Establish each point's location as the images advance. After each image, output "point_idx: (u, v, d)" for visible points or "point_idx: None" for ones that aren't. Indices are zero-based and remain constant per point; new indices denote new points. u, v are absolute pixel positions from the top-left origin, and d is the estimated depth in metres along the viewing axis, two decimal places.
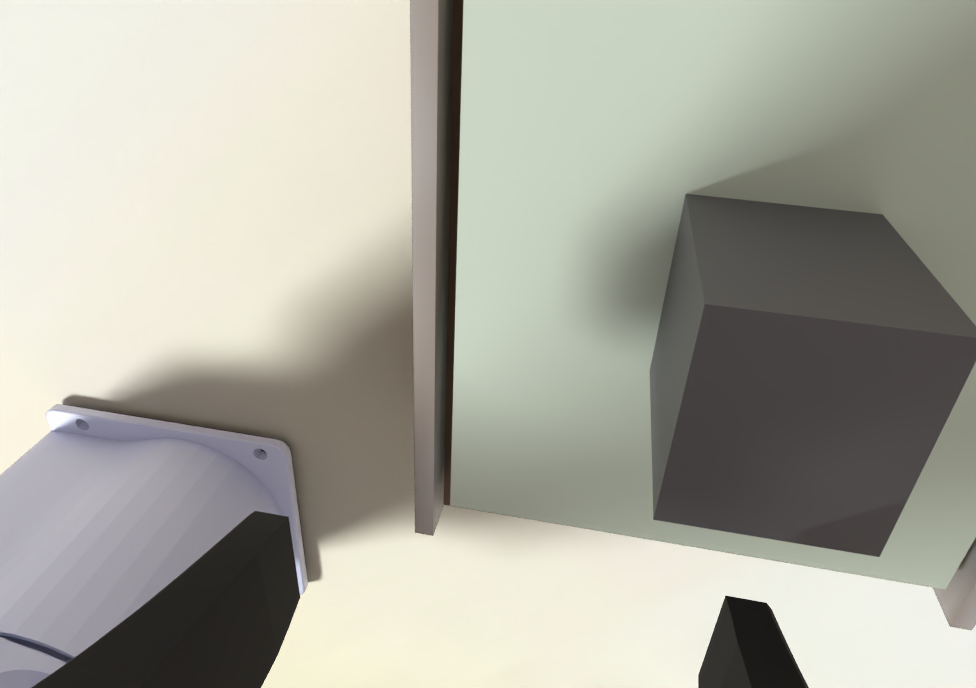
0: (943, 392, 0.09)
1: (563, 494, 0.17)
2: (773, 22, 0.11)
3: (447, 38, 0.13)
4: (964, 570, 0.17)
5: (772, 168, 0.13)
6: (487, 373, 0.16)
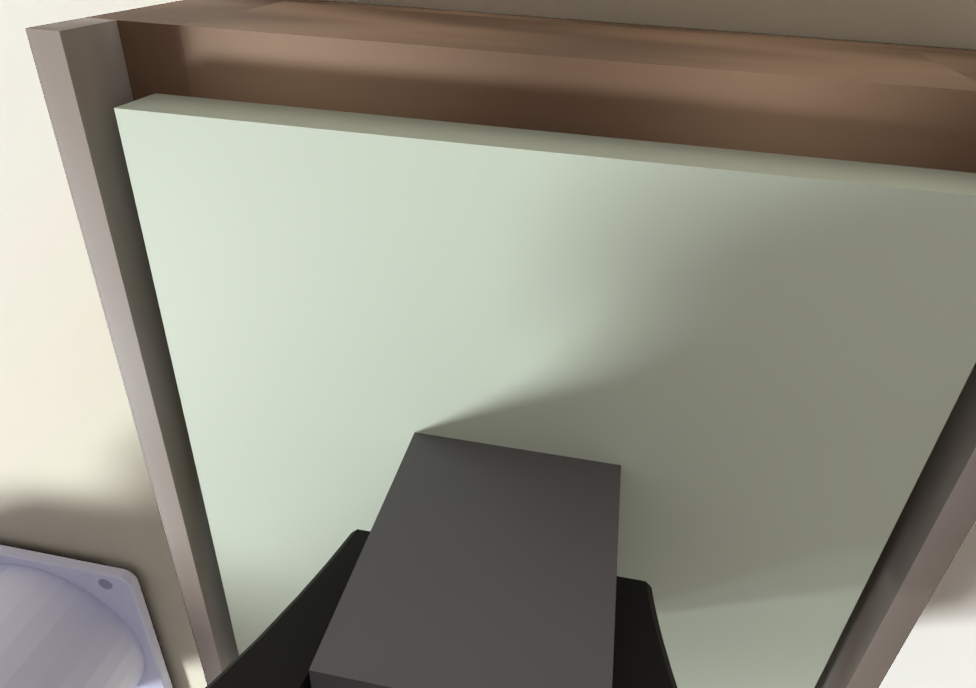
0: None
1: None
2: (468, 280, 0.10)
3: (148, 264, 0.12)
4: None
5: (497, 415, 0.11)
6: (254, 578, 0.15)
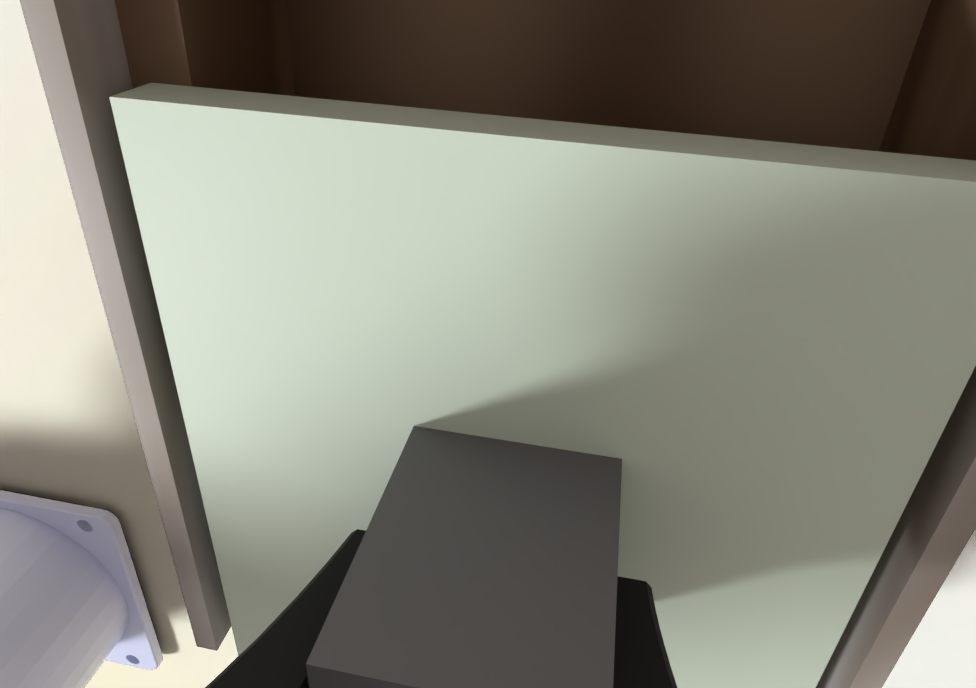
0: None
1: None
2: (467, 271, 0.10)
3: (111, 93, 0.10)
4: None
5: (497, 407, 0.11)
6: (253, 573, 0.15)
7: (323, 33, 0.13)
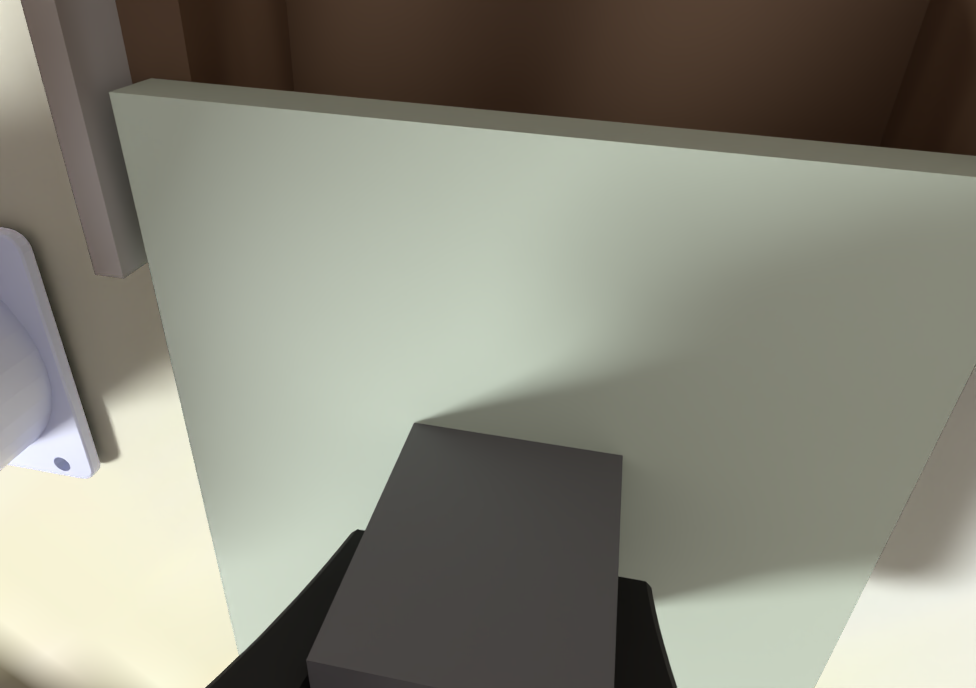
0: None
1: None
2: (467, 267, 0.10)
3: None
4: None
5: (498, 404, 0.11)
6: (253, 571, 0.15)
7: None
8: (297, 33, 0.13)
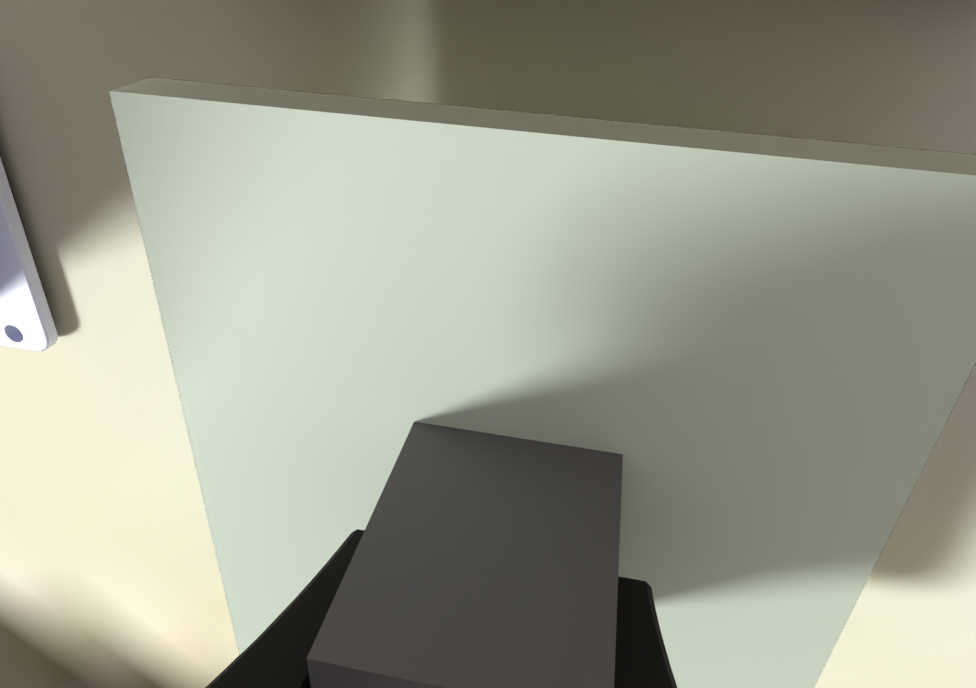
0: None
1: None
2: (467, 266, 0.10)
3: None
4: None
5: (498, 403, 0.11)
6: (253, 570, 0.15)
7: None
8: None
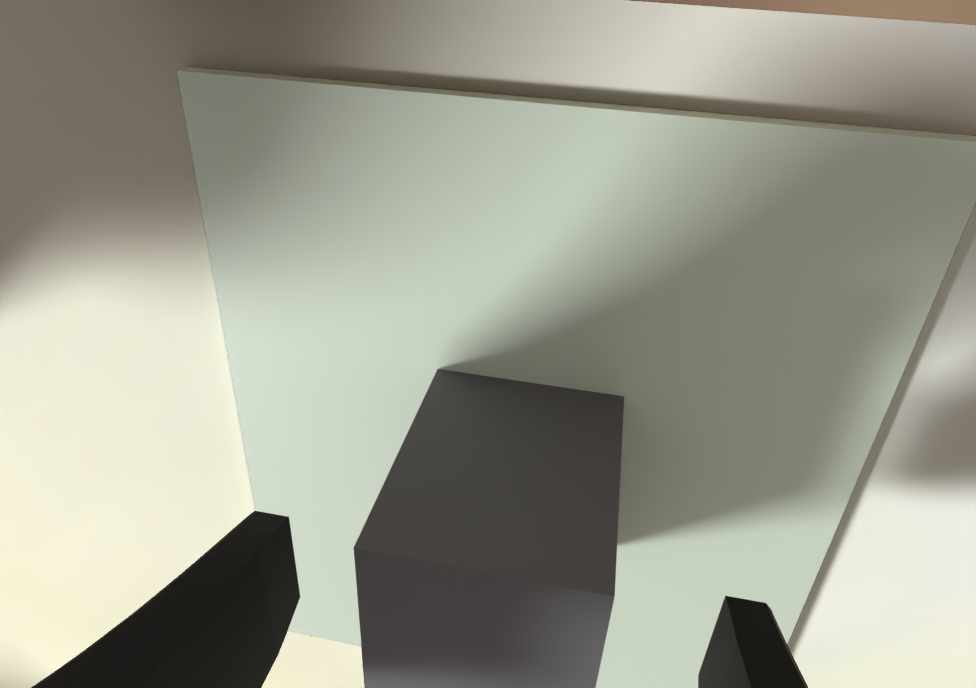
0: (590, 636, 0.09)
1: None
2: (488, 224, 0.12)
3: None
4: None
5: (513, 350, 0.13)
6: (286, 515, 0.16)
7: None
8: None
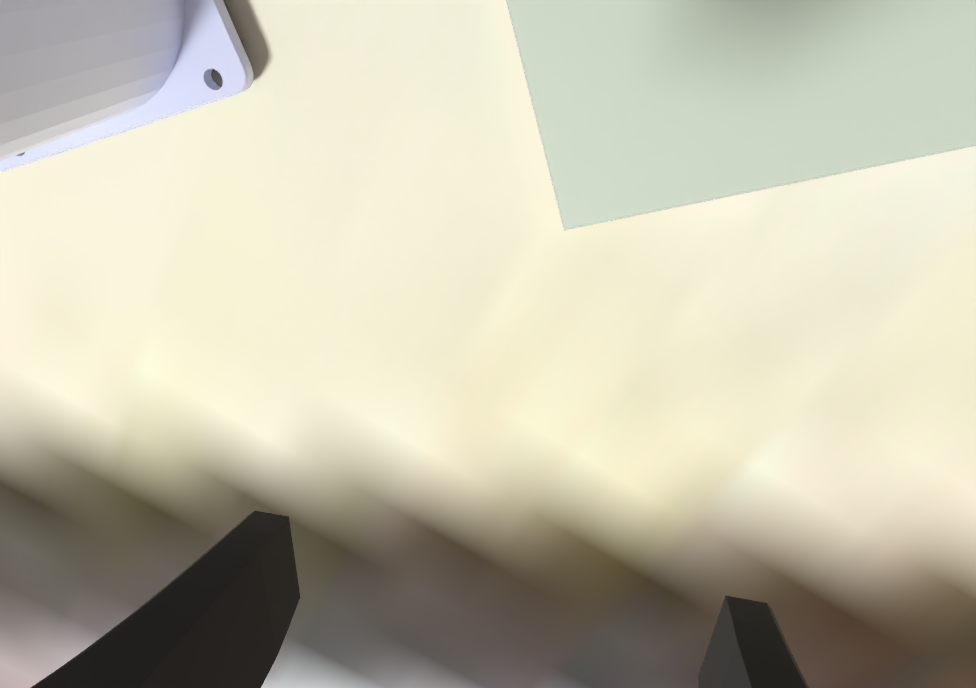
0: None
1: (667, 168, 0.17)
2: None
3: None
4: None
5: None
6: (554, 55, 0.17)
7: None
8: None
